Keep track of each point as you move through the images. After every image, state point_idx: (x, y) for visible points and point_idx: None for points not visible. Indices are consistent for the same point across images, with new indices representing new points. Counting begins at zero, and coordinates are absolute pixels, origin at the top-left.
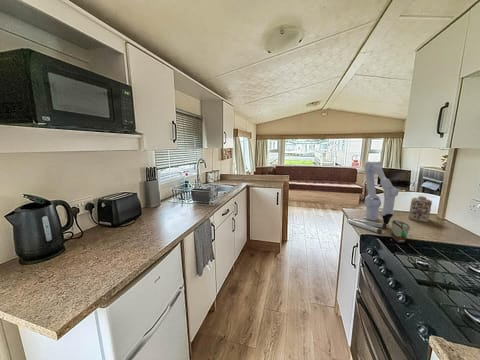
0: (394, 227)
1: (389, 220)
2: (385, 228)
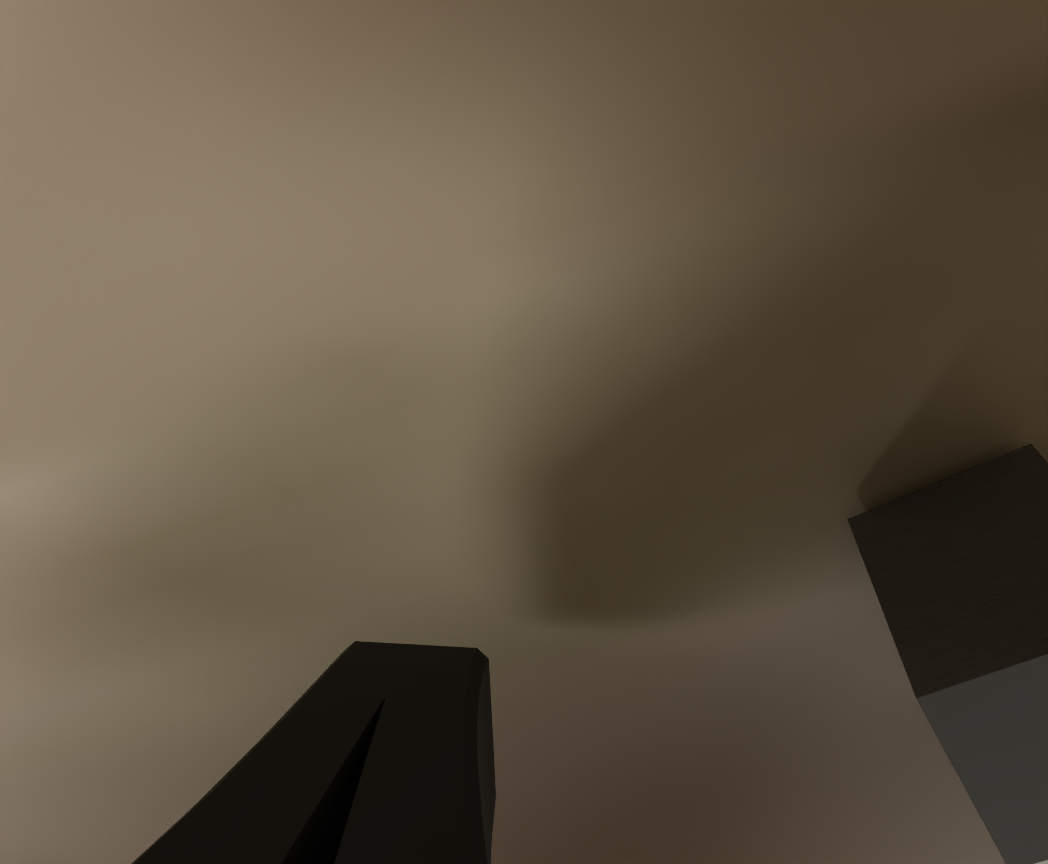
0: None
1: (165, 834)
2: (1037, 461)
